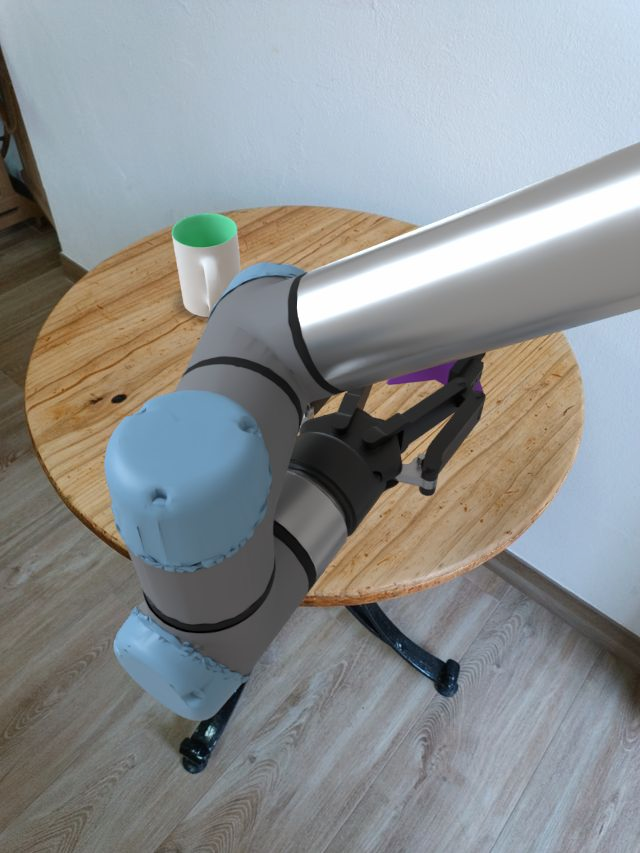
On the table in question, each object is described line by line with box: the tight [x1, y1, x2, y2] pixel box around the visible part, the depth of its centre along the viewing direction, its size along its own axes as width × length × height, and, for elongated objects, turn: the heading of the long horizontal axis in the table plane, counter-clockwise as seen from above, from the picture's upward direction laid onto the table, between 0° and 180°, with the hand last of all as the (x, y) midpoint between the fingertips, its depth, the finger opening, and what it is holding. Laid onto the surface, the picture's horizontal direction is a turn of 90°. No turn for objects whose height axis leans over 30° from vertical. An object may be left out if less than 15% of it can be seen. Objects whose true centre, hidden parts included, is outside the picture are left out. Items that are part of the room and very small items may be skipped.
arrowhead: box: [386, 361, 485, 394], centre depth 63 cm, size 10×2×10 cm
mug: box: [171, 212, 242, 318], centre depth 88 cm, size 12×8×10 cm, turn 16°
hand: (451, 329), depth 61 cm, fingers closed on arrowhead, 5 cm apart
